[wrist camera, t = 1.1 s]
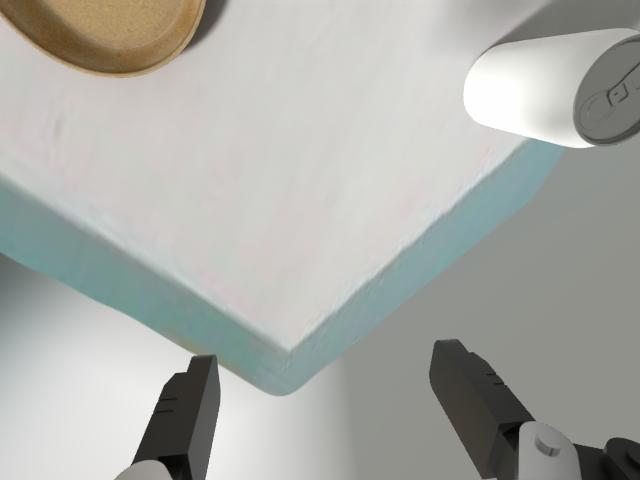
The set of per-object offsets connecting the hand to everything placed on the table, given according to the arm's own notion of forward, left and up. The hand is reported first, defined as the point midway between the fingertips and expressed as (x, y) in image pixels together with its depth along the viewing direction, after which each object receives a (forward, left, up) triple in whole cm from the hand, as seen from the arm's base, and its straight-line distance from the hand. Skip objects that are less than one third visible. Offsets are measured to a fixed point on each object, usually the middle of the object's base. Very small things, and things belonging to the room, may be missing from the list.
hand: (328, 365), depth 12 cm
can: (-14, +13, -21) cm, 29 cm away
